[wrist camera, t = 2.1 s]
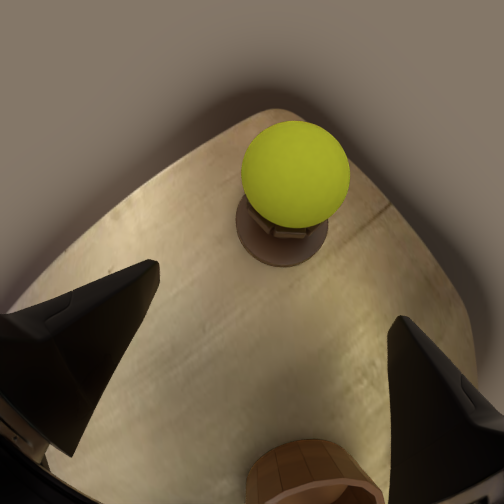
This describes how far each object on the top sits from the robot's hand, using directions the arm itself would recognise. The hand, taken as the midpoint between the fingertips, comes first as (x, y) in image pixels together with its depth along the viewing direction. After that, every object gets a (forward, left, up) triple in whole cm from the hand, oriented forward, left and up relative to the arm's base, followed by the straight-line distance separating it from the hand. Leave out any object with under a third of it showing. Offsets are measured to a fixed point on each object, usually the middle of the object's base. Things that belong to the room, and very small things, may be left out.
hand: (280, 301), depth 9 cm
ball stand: (+7, +5, -13) cm, 16 cm away
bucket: (-8, -15, -13) cm, 22 cm away
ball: (+7, +5, -5) cm, 10 cm away
